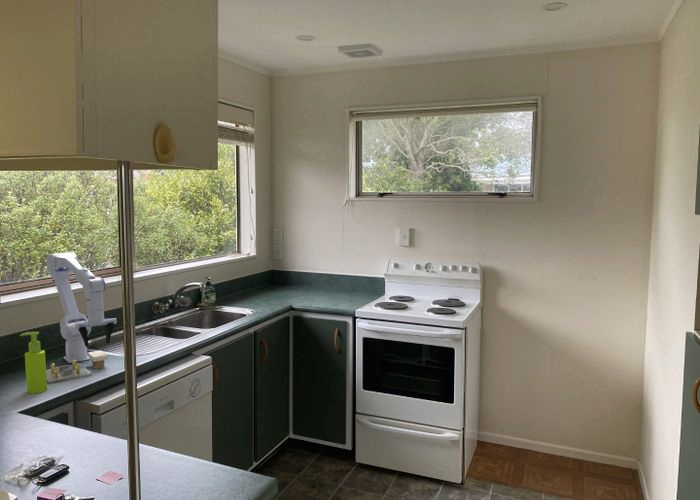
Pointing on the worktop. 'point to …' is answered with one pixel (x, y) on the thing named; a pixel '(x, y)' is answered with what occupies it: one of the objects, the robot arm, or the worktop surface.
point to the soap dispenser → (35, 365)
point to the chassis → (66, 372)
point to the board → (97, 355)
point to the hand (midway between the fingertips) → (97, 344)
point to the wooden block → (98, 364)
